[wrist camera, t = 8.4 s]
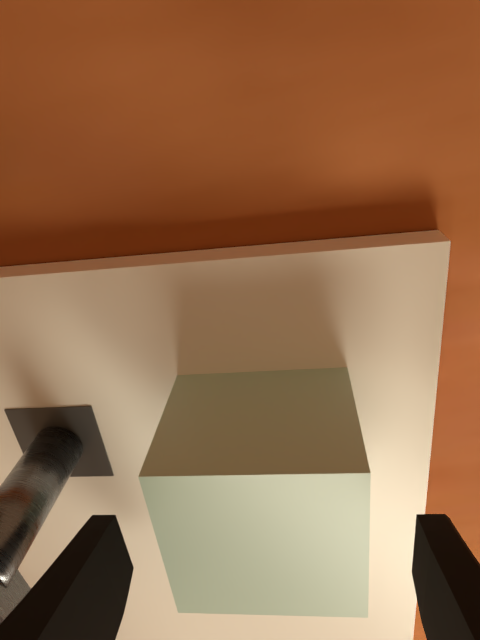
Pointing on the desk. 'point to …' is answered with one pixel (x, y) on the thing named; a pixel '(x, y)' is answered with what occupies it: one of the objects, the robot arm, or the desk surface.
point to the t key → (31, 504)
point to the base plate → (226, 357)
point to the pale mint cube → (262, 494)
